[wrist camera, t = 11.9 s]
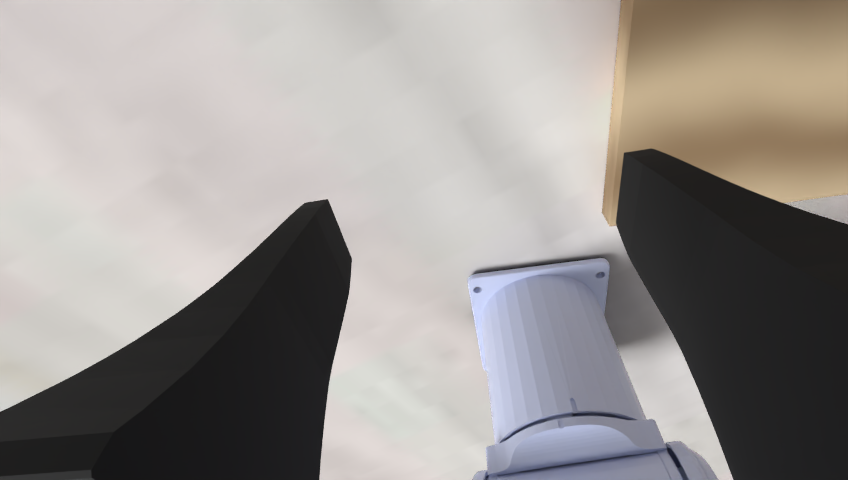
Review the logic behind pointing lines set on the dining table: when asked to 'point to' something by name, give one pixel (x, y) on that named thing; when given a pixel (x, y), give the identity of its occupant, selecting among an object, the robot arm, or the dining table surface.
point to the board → (735, 93)
